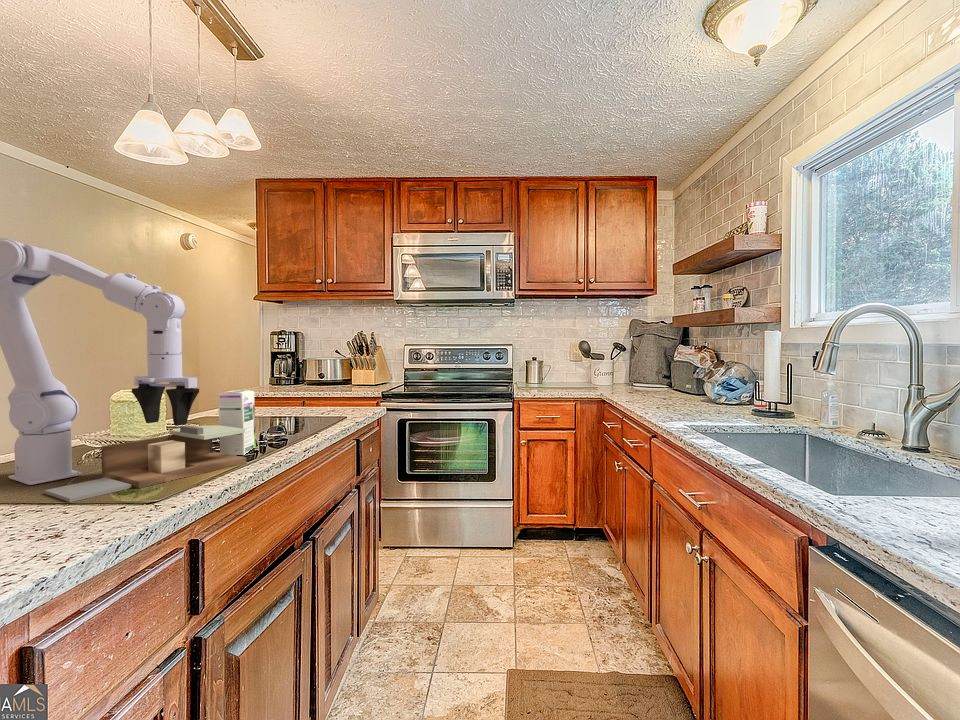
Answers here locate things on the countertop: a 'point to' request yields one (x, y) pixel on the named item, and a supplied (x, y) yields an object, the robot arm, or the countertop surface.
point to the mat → (87, 489)
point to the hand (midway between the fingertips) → (166, 423)
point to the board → (132, 468)
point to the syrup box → (237, 421)
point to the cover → (206, 431)
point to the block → (166, 456)
